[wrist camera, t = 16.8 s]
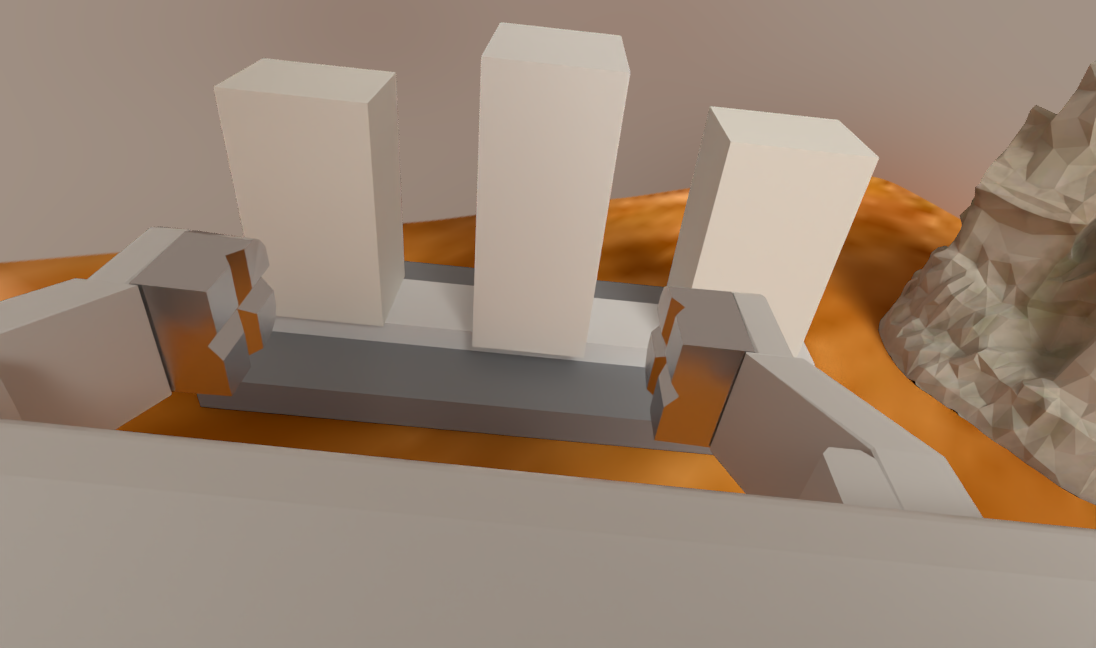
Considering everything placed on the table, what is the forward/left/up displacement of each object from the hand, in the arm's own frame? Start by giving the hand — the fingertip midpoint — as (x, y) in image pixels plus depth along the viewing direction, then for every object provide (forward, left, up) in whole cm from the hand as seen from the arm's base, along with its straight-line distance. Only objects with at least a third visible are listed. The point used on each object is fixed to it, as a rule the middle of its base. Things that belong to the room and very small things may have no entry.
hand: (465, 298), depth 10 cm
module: (+1, +15, -10) cm, 18 cm away
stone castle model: (+27, +17, -13) cm, 35 cm away
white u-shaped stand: (+1, +15, -13) cm, 19 cm away
